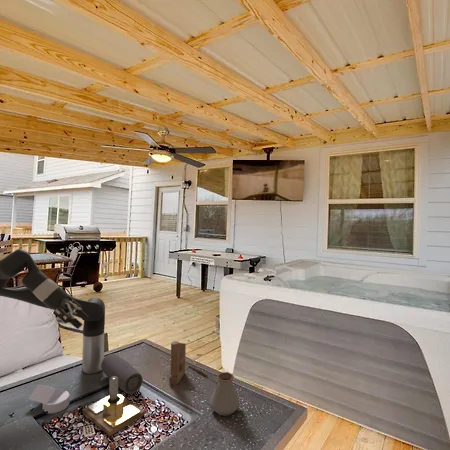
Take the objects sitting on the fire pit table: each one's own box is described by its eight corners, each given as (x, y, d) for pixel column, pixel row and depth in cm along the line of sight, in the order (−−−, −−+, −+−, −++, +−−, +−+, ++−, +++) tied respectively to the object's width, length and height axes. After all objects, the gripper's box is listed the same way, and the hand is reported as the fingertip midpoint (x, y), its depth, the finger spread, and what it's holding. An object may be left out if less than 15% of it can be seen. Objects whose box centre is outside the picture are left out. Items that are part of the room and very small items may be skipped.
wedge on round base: (28, 408, 116) (55, 415, 112) (28, 390, 116) (55, 397, 112) (48, 394, 125) (74, 401, 121) (48, 378, 124) (74, 384, 121)
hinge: (87, 408, 115) (87, 397, 114) (114, 394, 123) (114, 384, 123) (113, 428, 104) (113, 417, 104) (140, 412, 113) (140, 402, 113)
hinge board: (82, 413, 114) (82, 409, 114) (116, 396, 125) (116, 392, 125) (109, 436, 103) (109, 431, 103) (144, 415, 114) (144, 411, 114)
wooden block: (185, 373, 144) (186, 335, 143) (176, 385, 133) (177, 345, 133) (177, 372, 145) (178, 334, 144) (168, 384, 134) (169, 344, 133)
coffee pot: (241, 402, 123) (243, 365, 122) (236, 421, 112) (237, 381, 111) (191, 393, 128) (192, 358, 127) (181, 411, 117) (181, 372, 116)
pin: (107, 410, 114) (107, 378, 113) (114, 406, 116) (115, 375, 115) (111, 413, 112) (112, 381, 111) (119, 409, 114) (119, 378, 114)
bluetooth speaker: (144, 391, 128) (144, 368, 128) (122, 401, 122) (123, 376, 121) (119, 370, 145) (119, 349, 144) (99, 377, 138) (99, 355, 138)
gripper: (50, 295, 121) (81, 323, 123) (34, 306, 107) (70, 337, 109) (64, 281, 121) (95, 309, 124) (50, 291, 107) (85, 322, 110)
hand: (83, 322), depth 116 cm, fingers open, 8 cm apart
